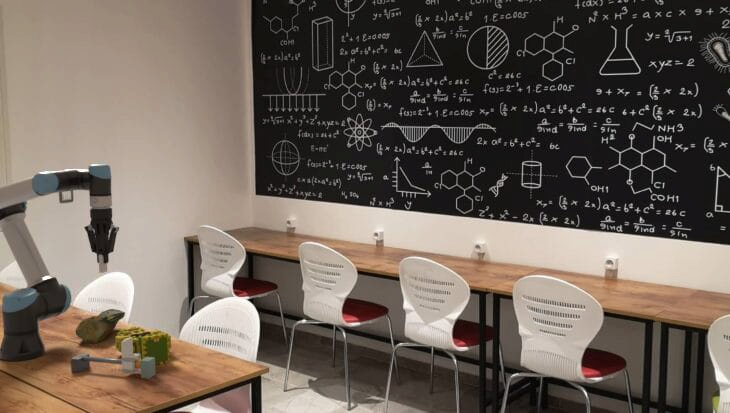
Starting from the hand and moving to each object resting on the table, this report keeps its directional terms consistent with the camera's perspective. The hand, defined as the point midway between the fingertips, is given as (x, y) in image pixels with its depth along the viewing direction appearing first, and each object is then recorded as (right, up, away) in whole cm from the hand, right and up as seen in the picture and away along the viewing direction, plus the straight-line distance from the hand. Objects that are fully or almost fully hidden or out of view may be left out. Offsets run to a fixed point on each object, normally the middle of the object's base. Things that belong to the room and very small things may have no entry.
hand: (103, 271), depth 269 cm
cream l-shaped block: (+16, -32, -19) cm, 41 cm away
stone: (-10, -28, +26) cm, 39 cm away
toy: (+13, -31, +3) cm, 34 cm away
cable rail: (+10, -33, -17) cm, 38 cm away
